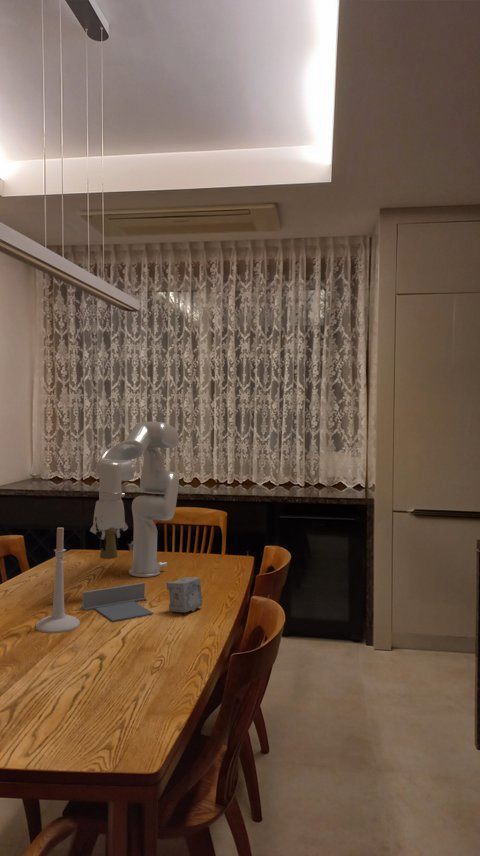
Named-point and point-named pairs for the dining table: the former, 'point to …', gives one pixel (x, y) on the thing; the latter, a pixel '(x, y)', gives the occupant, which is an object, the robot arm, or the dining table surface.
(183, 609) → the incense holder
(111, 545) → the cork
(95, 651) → the dining table surface
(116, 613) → the slate mat
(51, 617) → the candlestick
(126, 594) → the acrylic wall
